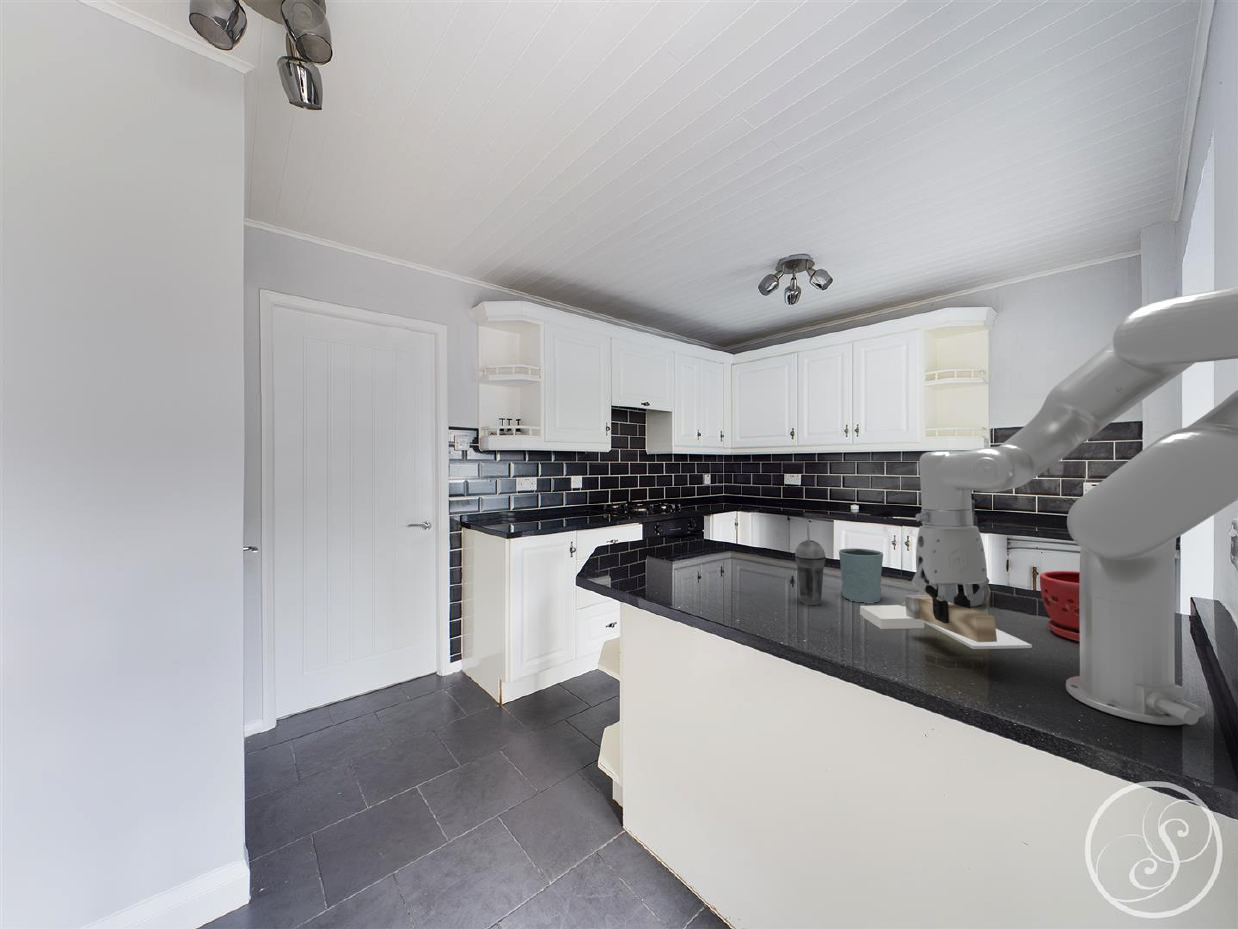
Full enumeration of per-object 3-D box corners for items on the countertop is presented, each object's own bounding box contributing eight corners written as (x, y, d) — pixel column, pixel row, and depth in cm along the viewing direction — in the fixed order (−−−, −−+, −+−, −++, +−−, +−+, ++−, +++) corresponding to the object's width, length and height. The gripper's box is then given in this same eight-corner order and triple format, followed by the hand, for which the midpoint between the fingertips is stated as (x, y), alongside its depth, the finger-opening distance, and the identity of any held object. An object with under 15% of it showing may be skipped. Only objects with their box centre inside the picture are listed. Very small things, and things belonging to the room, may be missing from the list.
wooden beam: (1003, 641, 78) (1000, 616, 79) (971, 642, 79) (969, 617, 79) (931, 614, 97) (929, 594, 98) (906, 615, 98) (904, 595, 98)
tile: (924, 618, 102) (899, 605, 111) (881, 619, 102) (859, 606, 111) (924, 630, 102) (899, 616, 111) (881, 631, 102) (860, 617, 111)
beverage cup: (831, 602, 121) (829, 522, 120) (820, 609, 115) (818, 525, 115) (802, 596, 126) (801, 520, 125) (790, 603, 120) (789, 523, 120)
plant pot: (1102, 628, 100) (1101, 570, 100) (1152, 653, 87) (1152, 586, 87) (1026, 623, 103) (1026, 567, 103) (1064, 647, 91) (1064, 583, 90)
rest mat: (1032, 648, 90) (1032, 645, 90) (973, 649, 90) (973, 646, 90) (945, 608, 114) (945, 605, 114) (899, 609, 114) (899, 606, 114)
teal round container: (845, 603, 119) (845, 555, 119) (834, 592, 129) (833, 547, 129) (890, 605, 117) (889, 555, 117) (875, 593, 127) (874, 547, 127)
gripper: (912, 523, 84) (918, 629, 84) (1009, 519, 84) (1014, 626, 83) (889, 518, 91) (894, 616, 91) (978, 515, 91) (983, 613, 91)
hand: (952, 620), depth 87 cm, fingers closed on wooden beam, 3 cm apart
